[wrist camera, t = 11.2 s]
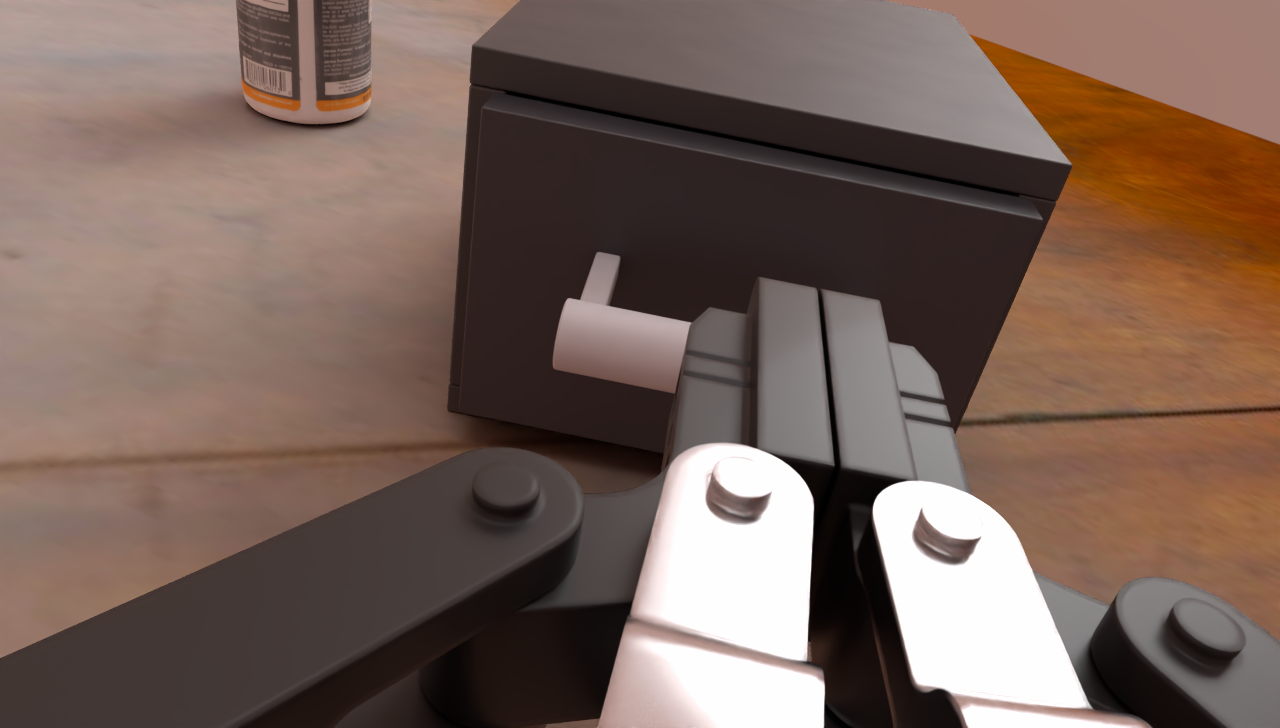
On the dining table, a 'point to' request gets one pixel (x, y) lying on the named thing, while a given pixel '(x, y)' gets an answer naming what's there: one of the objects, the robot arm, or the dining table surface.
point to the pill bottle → (306, 58)
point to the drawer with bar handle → (699, 259)
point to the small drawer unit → (772, 93)
